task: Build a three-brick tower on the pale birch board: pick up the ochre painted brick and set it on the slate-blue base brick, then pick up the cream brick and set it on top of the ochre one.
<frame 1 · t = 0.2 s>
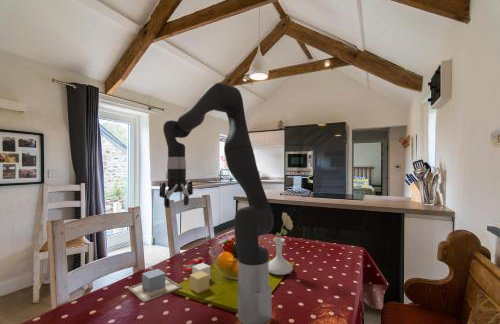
hand: (176, 206, 106), 28 cm above the table, fingers open, 8 cm apart
cream brick: (201, 281, 99), on the table
ochre brick: (199, 291, 91), on the table
race car: (194, 270, 111), on the table
flower in vase: (280, 271, 108), on the table
build plate: (155, 290, 92), on the table
base brick: (153, 287, 92), point 1 cm above the table, touching build plate
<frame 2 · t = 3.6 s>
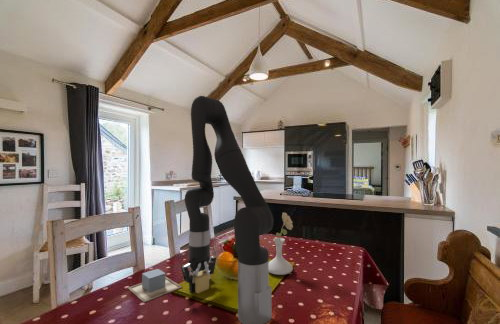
hand: (199, 289, 91), 1 cm above the table, fingers closed on ochre brick, 5 cm apart
ochre brick: (199, 291, 91), on the table, touching gripper
everything else where it was.
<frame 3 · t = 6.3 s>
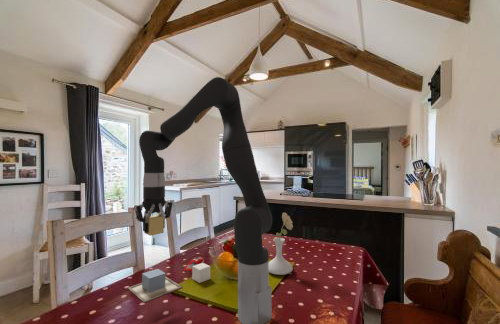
hand: (154, 231, 93), 21 cm above the table, fingers closed on ochre brick, 5 cm apart
ochre brick: (153, 232, 93), point 21 cm above the table, touching gripper
everything else where it was.
when the fingers open (8 cm above the table, at t = 9.2 s): ochre brick drops 1 cm, resting on base brick.
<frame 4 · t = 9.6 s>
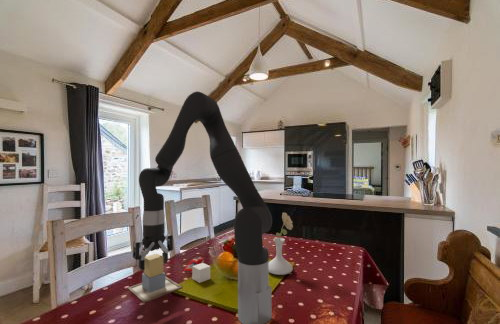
hand: (153, 266, 92), 9 cm above the table, fingers open, 8 cm apart
ochre brick: (153, 273, 92), point 6 cm above the table, touching base brick
base brick: (153, 287, 92), point 1 cm above the table, touching build plate, ochre brick
everything else where it was.
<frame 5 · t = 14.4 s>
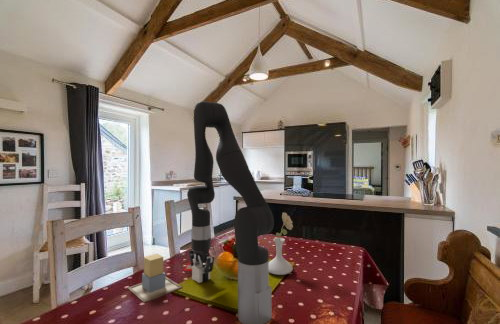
hand: (201, 279, 99), 1 cm above the table, fingers closed on cream brick, 5 cm apart
cream brick: (201, 281, 99), on the table, touching gripper
everything else where it was.
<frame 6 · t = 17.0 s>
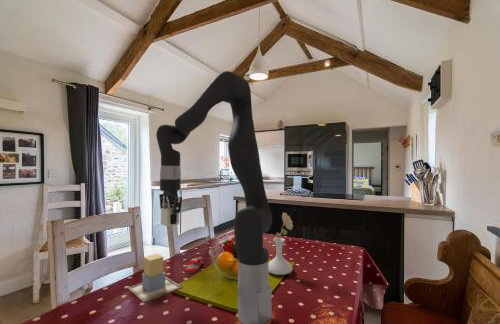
hand: (169, 222, 95), 24 cm above the table, fingers closed on cream brick, 5 cm apart
cream brick: (169, 224, 95), point 23 cm above the table, touching gripper
everything else where it was.
when the fingers open (14 cm above the table, at t = 19.6 s): cream brick drops 1 cm, resting on ochre brick.
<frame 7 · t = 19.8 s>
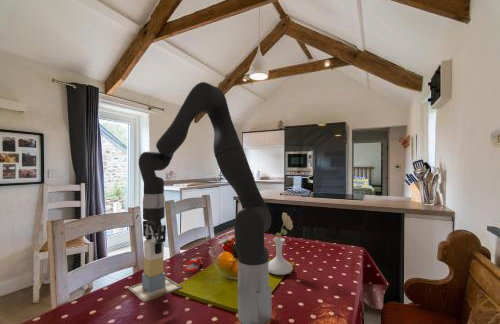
hand: (153, 251, 93), 14 cm above the table, fingers open, 6 cm apart
cream brick: (153, 257, 92), point 12 cm above the table, touching ochre brick
ochre brick: (153, 273, 92), point 6 cm above the table, touching base brick, cream brick
everything else where it was.
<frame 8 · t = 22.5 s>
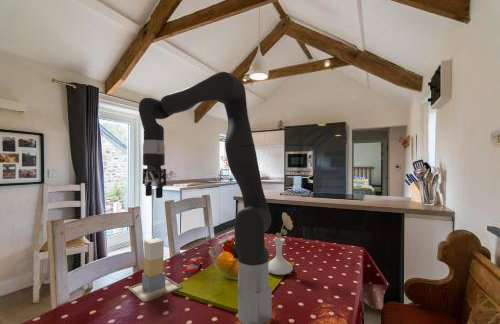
hand: (153, 196, 93), 34 cm above the table, fingers open, 8 cm apart
at the end: ochre brick 0.1 cm off-centre on the base brick, point 5.0 cm above the base brick's base; cream brick 0.1 cm off-centre on the ochre brick, point 6.0 cm above the ochre brick's base; cream brick tilted 0° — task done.
